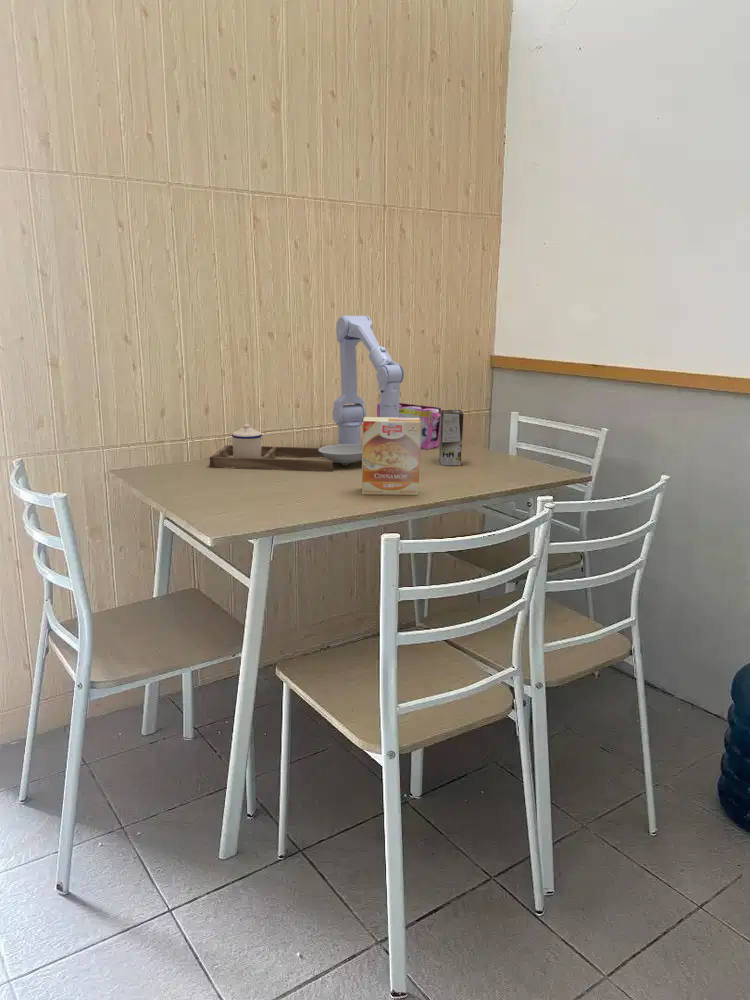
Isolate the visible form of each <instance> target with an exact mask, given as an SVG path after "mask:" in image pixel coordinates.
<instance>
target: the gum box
mask: <svg viewBox="0 0 750 1000" xmlns="http://www.w3.org/2000/svg"><path fill="white" fill-rule="evenodd" d="M441 410H442V408H441V407H436V406H428V405H422V404H421V405H417V404H411V403H403V402H399V418H419V419H420V421H421V443H420V449H422V448H424V450H430V448H431V449H435V448H439V447H440V425H441ZM376 417H380V402H379V403H378V402H377V403H376ZM438 446H439V447H438ZM434 447H435V448H434Z"/></svg>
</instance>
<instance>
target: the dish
mask: <svg viewBox="0 0 750 1000" xmlns="http://www.w3.org/2000/svg"><path fill="white" fill-rule="evenodd" d="M318 448H319V450H318V451H319V452H321V453H322V454H323V455H324V456H325V457H326V458H325V459H327V460H329V461H333V463H336V464H342V465H343V464H344V465H343V466H349V465H348V464H355V463H357V462H360V461H362V452H363V444H361V443H360V444H338V443H337V444H331V445H325V446H321V447H318Z"/></svg>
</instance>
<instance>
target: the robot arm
mask: <svg viewBox="0 0 750 1000" xmlns="http://www.w3.org/2000/svg"><path fill="white" fill-rule="evenodd" d="M373 324H374V323H373V321H372V319H371V318H370V316H369V315H343V314H342V315H340V316H339V317H338V320H336V324H335V325H336V341H337V342H338V343H339V356H340V357H339V360H340V364H339V365H340V386H341V387H340V390H341V391H340V392H341V395H340V396H338V397H337V398H336V399H335V400H334V402H333V409H332V420H333V422H334V424H336V425H337V427H338V429H337V432H338V433H337V434H338V435H337V438H338V439H337V445H338V444H360V445H361V437H360V436H361V426H363V417H367V411H366V408H365V401H364V399H363V398H361V397H360V396H359V394H358V381H357V380H358V378H357V376H358V375H357V373H358V372H357V371H358V370H357V345H358V344H359V343H360V342H362V343H363V346H365V348H366V349H367V350H368V352H369V354H368V359H369V361H370V362H371V364H372V365H373V367H374V369H375V370H376V379H377V383H378V390H379V403H380V417H395V418H399V403H400V389H401V387H400V385H401V384H402V383H403V381H404V379H405V371H404V368H403V366H402V365H401V364H400V363H397V362H395V361H394V360H393V358H392V356H391V355H390V354H389V352H388V350H387V348H386V347H384V346H381V345H380V343H379V342H378V340H377V337H376V335H375V333H374V332H373V330H374V329H373V328H374V327H373V326H374V325H373Z"/></svg>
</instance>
